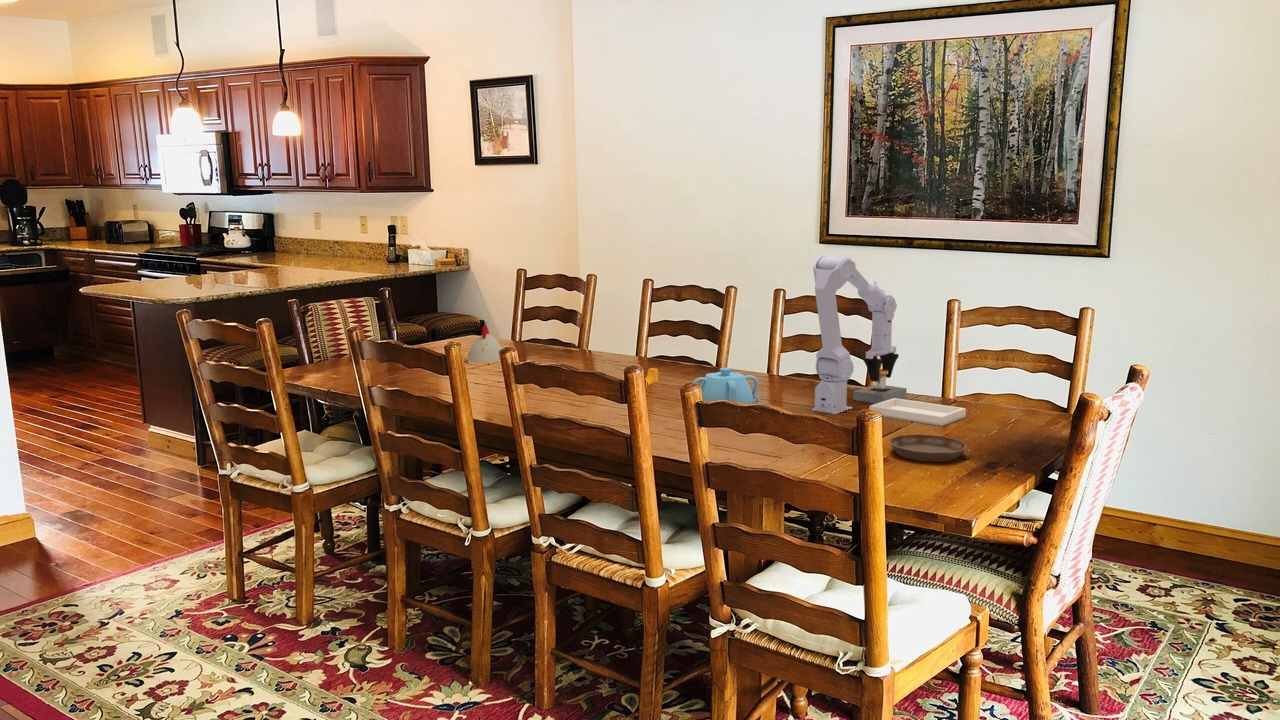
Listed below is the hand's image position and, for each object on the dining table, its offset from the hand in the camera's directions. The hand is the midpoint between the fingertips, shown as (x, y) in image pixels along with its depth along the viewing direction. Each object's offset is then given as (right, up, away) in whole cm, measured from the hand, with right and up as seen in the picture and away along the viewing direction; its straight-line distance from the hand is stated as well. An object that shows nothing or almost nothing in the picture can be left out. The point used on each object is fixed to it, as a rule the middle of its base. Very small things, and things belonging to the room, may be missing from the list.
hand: (880, 379), depth 300 cm
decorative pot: (-48, -10, -17) cm, 52 cm away
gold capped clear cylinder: (0, -6, +1) cm, 6 cm away
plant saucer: (-3, -17, -60) cm, 63 cm away
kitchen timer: (-129, +3, +69) cm, 146 cm away
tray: (+5, -10, -21) cm, 24 cm away
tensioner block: (0, -6, +1) cm, 6 cm away
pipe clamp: (-72, -4, +20) cm, 75 cm away
